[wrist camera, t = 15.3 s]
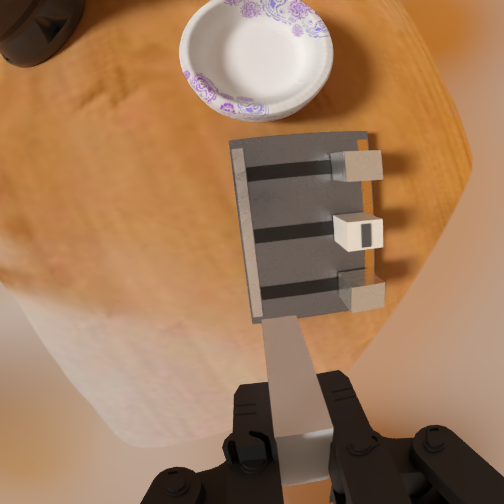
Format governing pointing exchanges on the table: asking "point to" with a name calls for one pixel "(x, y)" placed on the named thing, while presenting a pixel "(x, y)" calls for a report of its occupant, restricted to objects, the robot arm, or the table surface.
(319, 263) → the panel
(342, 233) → the breaker
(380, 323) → the table surface
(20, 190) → the table surface
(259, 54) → the paper bowls
